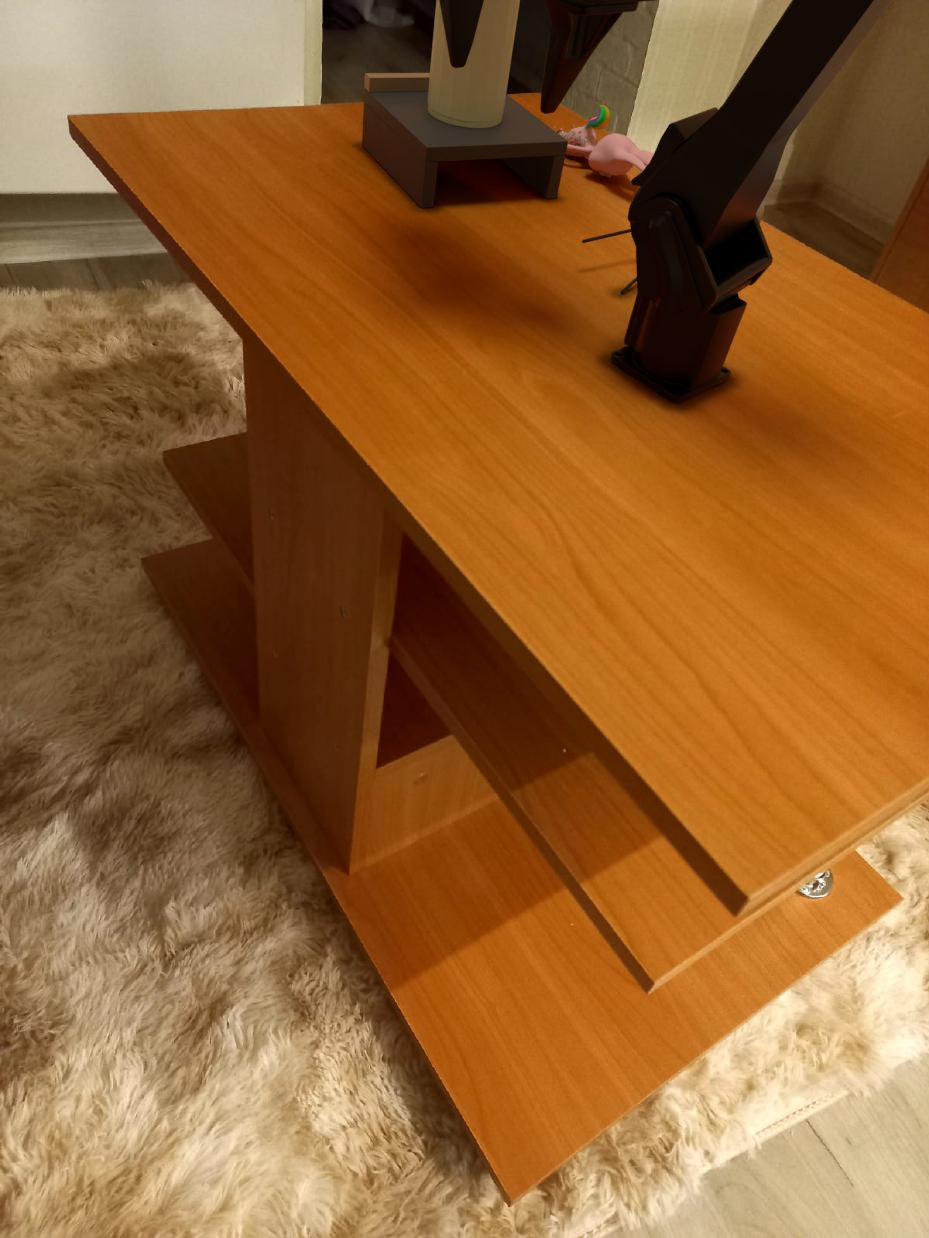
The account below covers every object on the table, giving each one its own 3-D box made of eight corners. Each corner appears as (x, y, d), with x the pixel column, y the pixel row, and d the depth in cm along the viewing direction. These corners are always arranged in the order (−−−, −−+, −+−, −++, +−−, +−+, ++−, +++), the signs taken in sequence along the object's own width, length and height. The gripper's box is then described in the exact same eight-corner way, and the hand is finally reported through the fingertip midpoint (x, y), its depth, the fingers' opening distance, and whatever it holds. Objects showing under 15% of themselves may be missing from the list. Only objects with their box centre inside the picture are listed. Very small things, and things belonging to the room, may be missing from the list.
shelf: (557, 198, 82) (571, 126, 77) (421, 208, 76) (428, 131, 72) (489, 140, 89) (498, 72, 85) (361, 145, 84) (364, 73, 79)
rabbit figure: (535, 161, 91) (626, 197, 81) (541, 95, 87) (637, 124, 77) (583, 157, 93) (677, 191, 84) (591, 93, 90) (690, 121, 80)
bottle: (494, 134, 77) (522, -56, 67) (419, 118, 77) (436, -73, 67) (507, 110, 81) (534, -70, 71) (436, 95, 82) (453, -87, 72)
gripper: (328, -265, 49) (325, 55, 60) (563, -201, 40) (507, 157, 52) (476, -246, 54) (447, 43, 66) (709, -186, 46) (629, 132, 57)
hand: (500, 89), depth 60 cm, fingers open, 9 cm apart
